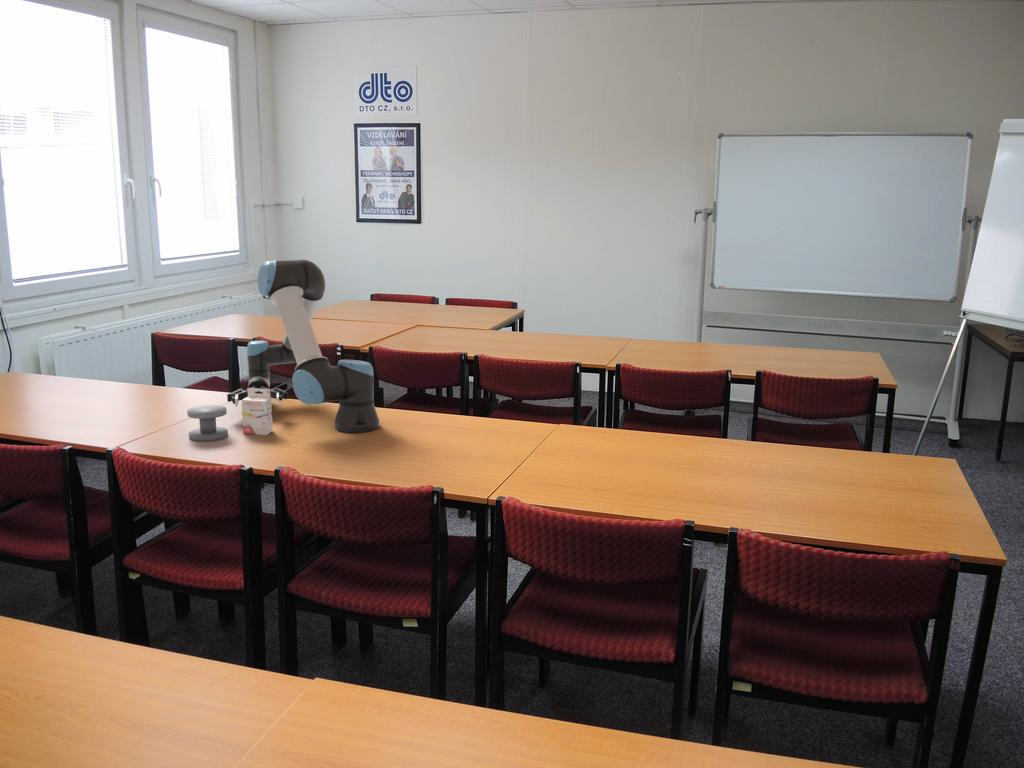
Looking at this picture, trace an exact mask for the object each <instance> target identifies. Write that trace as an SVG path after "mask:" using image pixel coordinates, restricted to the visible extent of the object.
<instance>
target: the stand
mask: <svg viewBox="0 0 1024 768" xmlns="http://www.w3.org/2000/svg"><path fill="white" fill-rule="evenodd" d="M227 413H228V411H227V407H226V406H224V405H218V404H217V405H215V404H211V405H210V404H207V405H198V406H195V407H193V406H192V407H191V408H188V409H187V413H186V414H187V417H188V418H190V419H197V420H199V428H195V429H193V430H190V431H189V432H188V439H190V440H191V441H194V442H214V441H220V440H223V439H226V438H228V436H229V431H228V429H227V428H225V427H221V426H217V418H220V417H224V416H225V415H227Z"/></svg>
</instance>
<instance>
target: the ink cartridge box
mask: <svg viewBox="0 0 1024 768" xmlns="http://www.w3.org/2000/svg"><path fill="white" fill-rule="evenodd" d="M246 389H247V392H248V397H246V398H244V399H243V400H241V413H242V431H243V432H242V433H243V434H247V435H259V436H268V435H269V434H270V433H271V432H273V431H274V430H273V411H272V410H273V409H272V398H271V395H270V390H271V388H270V389H258V388H248V387H247V388H246ZM258 391H260V392H263V394H257V393H255V392H258Z"/></svg>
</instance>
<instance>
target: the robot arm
mask: <svg viewBox="0 0 1024 768" xmlns="http://www.w3.org/2000/svg"><path fill="white" fill-rule="evenodd" d="M257 287H258V291H259V293H260V295H262V296H264V297H267V296H268V299H269V301H270V303H271V304H272V305H275V306H276V307H277V310H278V313H279V316H280V319H281V322H282V325H283V327H284V331H285V333H284V337H283V340H282V343H280V344H279V343H278V344H269V342H268V341H266V340H252V341H249V342H248V343H247V347H246V349H247V350H246V352H247V353H246V357H247V365H248V367H247V368H248V371H247V372H248V375H247V376H248V385H247V388H246V389H245V390H244V389H243V388H238V389H237V390H234V391H232V392H229V393H227V394H226V395H227V396H226V397H227V399H226V400H227V402H228V403H229V402H231V403H232V404H233V405H234V408H235V407H239V401H242V400H243V399H244V398H246V397H248V392H247V389H248V388H258V389H270V395H271V399H275V400H276V405H280V401H283V400H288V399H289V395H288V391H285V390H283V389H281V388H279V387H278V386H275V387H274V388H273V389H271V388H270V385H271V377H270V366H275V365H284V364H285V365H286V364H296V365H295V367H294V373H293V374H292V379H291V382H292V388H293V392H294V393H295V396H296V398H298V400H299V401H300V402H301V403H302V404H305V405H321V404H324V403H331V402H336V401H338V403H339V405H338V408H337V413H336V416H335V420H334V429H335V430H337V431H338V432H339V431H340V432H343V433H366V432H372V431H375V430H377V429H379V428H380V418H379V417H378V416H379V415H378V413H377V410H376V408H375V407H376V406H375V399H374V398H375V396H374V395H375V392H374V391H375V390H374V377H375V376H374V367H373V365H372V364H371V363H370V362H368V361H364V360H357V359H339V360H338V362H337V365H331V363H330V360H329V358H328V357H326V356H323V354H322V351H321V349H320V346H319V343H318V341H317V337H316V335H315V332H314V330H313V327H312V320H313V316H314V314H315V312H316V309H317V306H318V303H319V301H321V300H322V299H323V297H324V294H325V290H326V280H325V275H324V273H323V271H322V270H321V268H320V267H319V266H318V265H317V264H316V263H314V262H312V261H310V260H308V259H291V260H290V259H288V260H276V259H274V260H269V261H268V260H266V261H263V262H262V264H261V265H260V267H259V270H258V274H257ZM255 393H257V394H263V392H260V391H258V392H255Z"/></svg>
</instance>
